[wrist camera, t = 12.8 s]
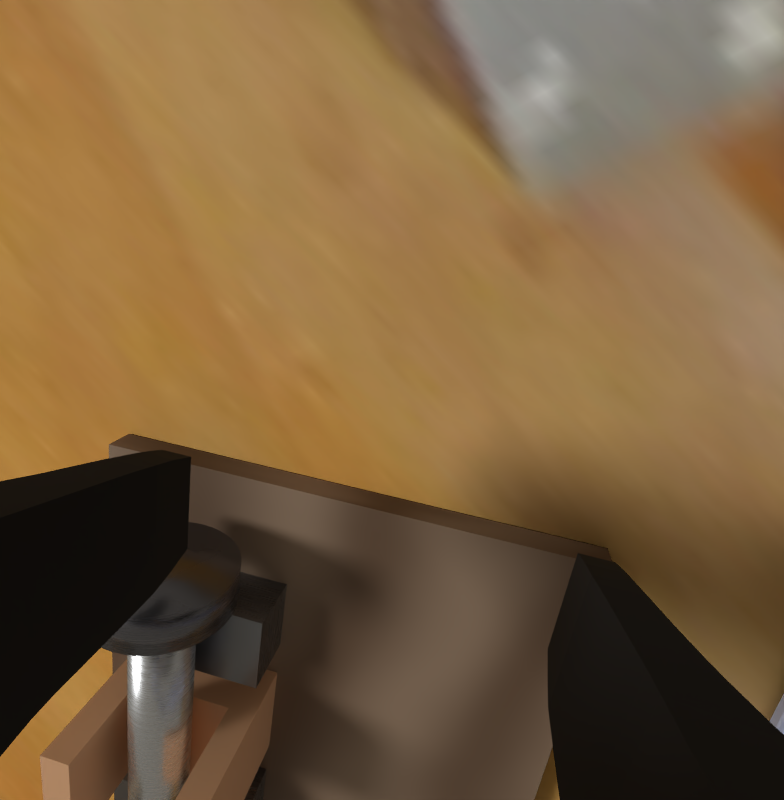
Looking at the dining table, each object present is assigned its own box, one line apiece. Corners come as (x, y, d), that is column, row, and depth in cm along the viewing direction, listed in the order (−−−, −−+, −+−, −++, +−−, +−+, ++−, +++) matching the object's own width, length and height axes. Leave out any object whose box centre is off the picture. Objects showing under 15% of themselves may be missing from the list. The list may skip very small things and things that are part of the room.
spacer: (277, 672, 18) (204, 812, 14) (269, 745, 19) (199, 896, 15) (148, 634, 19) (40, 755, 15) (148, 706, 20) (46, 840, 16)
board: (607, 548, 16) (614, 568, 15) (482, 921, 21) (481, 952, 20) (129, 433, 18) (108, 444, 17) (130, 799, 24) (115, 822, 23)
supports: (286, 584, 17) (262, 623, 15) (261, 814, 21) (238, 868, 19) (149, 546, 18) (111, 580, 16) (147, 775, 21) (114, 824, 20)
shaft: (265, 540, 16) (190, 634, 12) (239, 819, 19) (176, 957, 16) (144, 509, 16) (37, 589, 12) (142, 786, 20) (59, 912, 16)
